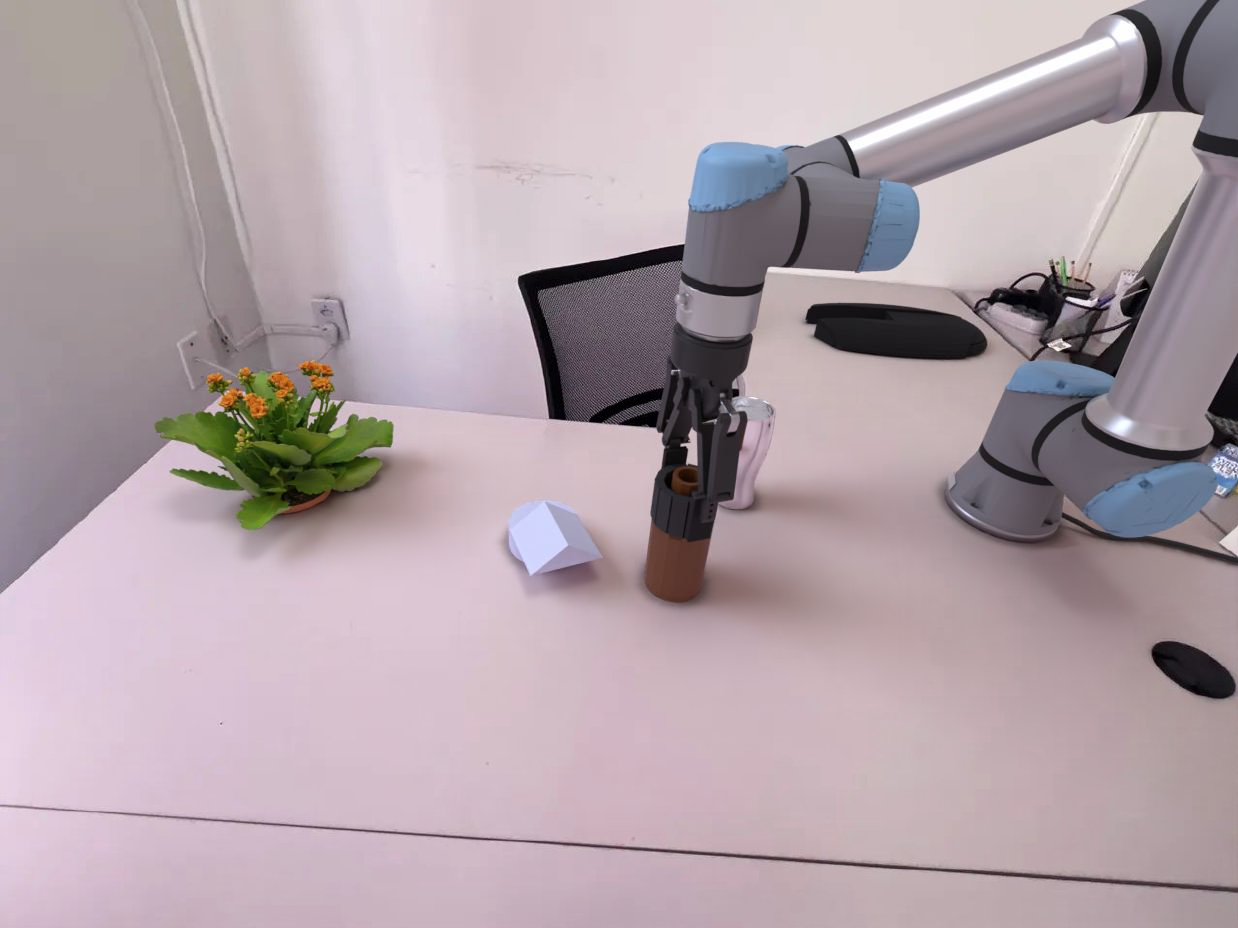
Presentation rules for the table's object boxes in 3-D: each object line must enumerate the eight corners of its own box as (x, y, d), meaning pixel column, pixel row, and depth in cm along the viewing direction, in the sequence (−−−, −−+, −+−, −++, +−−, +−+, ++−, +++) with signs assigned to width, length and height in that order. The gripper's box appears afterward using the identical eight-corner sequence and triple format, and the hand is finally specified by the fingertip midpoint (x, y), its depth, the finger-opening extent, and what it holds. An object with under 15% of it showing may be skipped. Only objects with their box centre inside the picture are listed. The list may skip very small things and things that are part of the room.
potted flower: (337, 566, 78) (307, 444, 68) (141, 549, 78) (83, 425, 68) (404, 452, 99) (389, 345, 89) (249, 438, 99) (217, 330, 89)
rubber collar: (719, 507, 76) (726, 472, 74) (706, 545, 71) (714, 509, 68) (660, 492, 78) (665, 457, 75) (643, 528, 72) (647, 492, 69)
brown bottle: (706, 569, 82) (727, 465, 73) (694, 608, 76) (715, 501, 67) (653, 555, 84) (667, 451, 74) (637, 592, 78) (650, 485, 69)
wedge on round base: (601, 577, 80) (565, 514, 89) (604, 536, 76) (566, 474, 85) (530, 596, 76) (500, 528, 86) (530, 554, 72) (499, 487, 82)
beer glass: (755, 515, 92) (777, 425, 83) (706, 507, 93) (723, 416, 84) (757, 487, 97) (778, 399, 89) (710, 479, 98) (727, 391, 90)
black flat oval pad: (1006, 365, 141) (1016, 344, 138) (822, 352, 140) (827, 330, 137) (959, 321, 162) (966, 301, 159) (797, 309, 160) (802, 289, 158)
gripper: (639, 290, 68) (622, 469, 81) (726, 379, 52) (689, 583, 65) (704, 287, 70) (678, 462, 83) (806, 371, 55) (754, 570, 68)
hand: (682, 515), depth 74 cm, fingers closed on rubber collar, 7 cm apart
